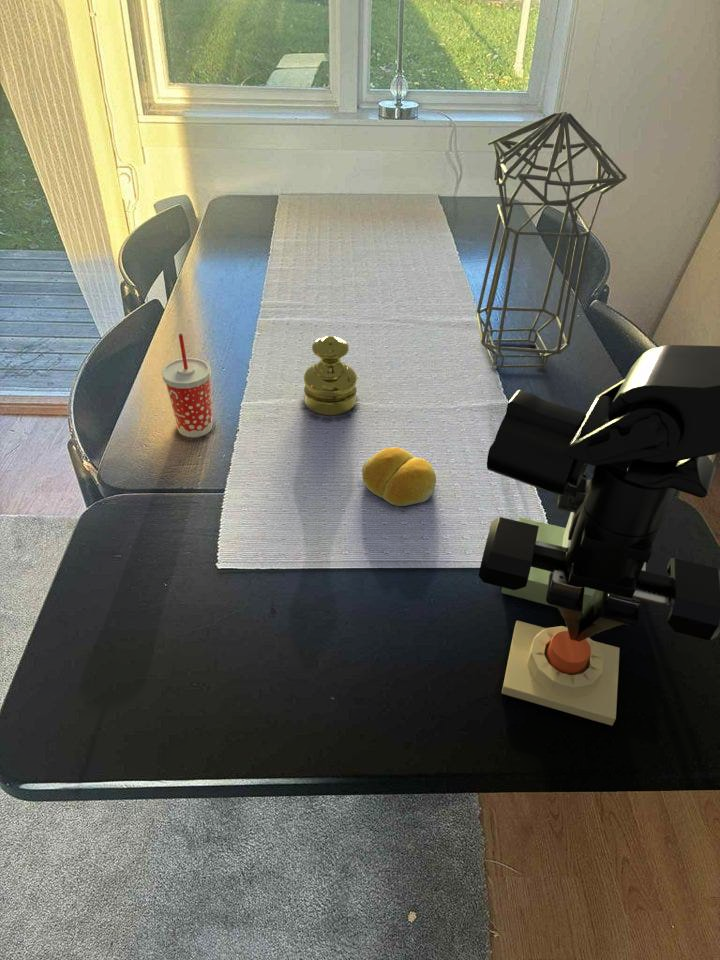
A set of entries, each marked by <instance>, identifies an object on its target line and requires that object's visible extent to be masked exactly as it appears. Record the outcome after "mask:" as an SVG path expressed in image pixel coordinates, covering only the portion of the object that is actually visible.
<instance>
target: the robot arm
mask: <svg viewBox="0 0 720 960" xmlns="http://www.w3.org/2000/svg"><path fill="white" fill-rule="evenodd" d="M719 453H720V345H689V344H688V345H687V344H682V345H681V344H667V345H661V346H657V347H654V348H650V349H649V350H646V351H645V352H643V353H642V354H641V355H640V357H638V358H637V359H636V361H635V362H634V363H633V365H632V366H631V367H630V369H629V370H628V372H627V375H626V376H625V378H624V379H622V380H620V381H619V382H618V383H616V384H614V385H612V386H610V387H609V388H607V389H606V390H604V391H602V392H601V393H599V394H598V395H596V396H595V399H594V400H593V402H592V404H591V405H590V407H589V409H588V410H587V412H585V411H581V410H576V409H574V408H571V407H568V406H565V405H561V404H559V403H555V402H553V401H552V402H551V401H549V400H546V399H543V398H541V397H539V396H537V395H536V394H534V393H531V392H527V391H524V390H522V389H518V390H516V391H515V393H514V394H513V395H512V396H511V398H510V399H509V401H508V402H507V405H506V409H505V414H504V416H503V418H502V420H501V423H500V424H499V427H498V430H497V432H496V435H495V437H494V440H493V442H492V443H491V444H490V446H489V449H488V453H487V459H486V469H487V471H490V472H492V473H496V474H498V475H501V476H504V477H506V478H509V479H512V480H514V481H517V482H519V483H523V484H525V485H529V486H531V487H534V488H537V489H538V490H542V491H544V492H547V493H551V494H553V495H556V496H558V497H557V505H556V508H557V510H561V511H565V512H570V513H571V512H574V513H575V514H574V517H573V520H572V523H571V526H570V530H569V536H568V540H571V542H570V545H569V548H566V547H562V546H558V545H554V544H550V543H545V542H541V541H536V539H537V533H538V528H539V526H537V525H532V524H528V523H524V522H520V521H518V520H514V519H510V518H507V517H502V516H498V517H497V518H495V519H493V520H492V521H491V523H490V526H489V530H488V534H487V538H486V542H485V545H484V550H483V552H482V553H483V554H482V557H481V562H480V567H479V571H478V578H480V580H481V581H482V582H483V583H484V584H489V585H492V586H495V587H500V588H507V589H511V590H518V589H520V588H523V587H526V585H527V581H528V578H529V573H530V569H531V567H534V568H538V569H542V570H546V571H550V574H549V581H548V587H547V594H546V601H547V603H548V604H550V605H552V606H551V607H554V606H555V607H554V608H557V609H558V611H559V613H560V615H561V616H562V618H563V620H564V622H565V625H566V627H567V629H568V633H569V636H570V639H571V640H575V641H578V642H580V641H582V640H584V639H586V638H588V637H589V638H591V637H592V636H595V635H597V634H599V633H602V632H604V631H607V630H611V629H614V628H617V627H620V626H623V625H624V626H629V627H634V626H636V625H637V624H638V623H639V621H640V605H641V602H649V603H652V604H656V605H660V606H664V607H668V606H669V605H670V611H669V613H668V615H667V624H668V625H669V627H670V628H671V629H672V630H673V632H674V633H678V634H682V635H686V636H689V637H695V638H698V639H701V640H706V641H712V640H714V639H716V638H717V637H718V636H719V634H720V569H719V567H714V566H711V565H706V564H702V563H697V562H693V561H689V560H685V559H681V558H676V557H670V559H669V560H668V563H667V565H666V572H667V574H668V575H669V576H667V575H663V574H660V573H655V572H651V571H648V570H647V563H649V560H650V557H651V556H652V554H653V553H652V549H653V548H652V547H653V544H654V542H655V540H656V538H657V535H658V534H659V531H660V529H661V526H662V524H663V522H664V519H665V517H666V515H667V513H668V510H669V507H670V506H671V503H672V502H673V498H674V496H675V493H676V492H677V491H679V492H682V493H685V494H689V495H691V496H695V497H697V498H701V499H702V498H706V497H707V496H708V495H709V491H710V488H711V485H712V482H713V478H714V474H715V471H716V468H717V467H716V465H715V463H714V462H713V461H712V460H711V458H710V457H709V456H714V455H717V454H719ZM588 465H591V466H594V468H593V470H592V471H593V472H592V475H591V478H590V479H587V476H588V475H587V473H586V469H587V467H588ZM585 587H587V588H591V589H595V592H594V594H593V596H592V598H591V600H590V602H589V603H588V605H587V607H586V609H585V611H584V613H583V614H582V608H583V598H584V589H585ZM550 605H549V606H550Z"/></svg>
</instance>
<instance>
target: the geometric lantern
mask: <svg viewBox="0 0 720 960" xmlns="http://www.w3.org/2000/svg"><path fill="white" fill-rule="evenodd" d="M569 126H570V127H571V128H572V129H573V131H574V132H575V133H576V135H578V137H579V138H580V139H581V140H582V142H577V143H571V137H570V136H571V135H570V127H569ZM557 129H558V131H557V134H556V138H555V140H554V141H555V142H554V143H547V142H548V140H549V139H550V138H551V136H552V135H553V134H554V133H555V131H556V130H557ZM529 132H530V133H529ZM527 133H529V134H527ZM524 134H527V136H525V137H524V138H522V139H521V140H519V141H514V140H512V139H515V138H517V137H519V136H522V135H524ZM564 140H565V141H564ZM564 143H565V144H564ZM500 144H501V145H502V146H503V147H505V148H506V149H507V150H506V151H504V150H503V148H502V146H501V145H500ZM491 145H492V146H493V151H494V152H493V153H494V157H495V166H494V175H493V176H494V177H493V181H495V185H496V186H498V191H499V199H500V204H499V203H497V210H498V214H497V218H496V222H495V228H494V232H493V237H492V241H491V246H490V249H489V254H488V259H487V263H486V268H485V272H484V277H483V281H482V286H481V290H480V295H479V298H478V303H477V307H476V312H475V315H476V319H477V326H478V332H479V339H480V344H481V345H482V347H484V348H485V349H486V351H487V354H488V356H489V359H490V361H491V364H492V366H494V367H496V368H500V369H501V368H544V367H545V365H546V364H547V362H548V359H549V357H551V356H554V355H560V354H562V353H563V352H564V351H565V350H566V349H568V348H569V347H570V345H571V338H572V332H573V327H574V323H575V317H576V312H577V306H578V301H579V297H580V291H581V286H582V281H583V275H584V269H585V264H586V260H587V253H588V248H589V244H590V240H591V239H590V238H591V231H592V228H593V225H594V221H595V219H596V215H597V213H598V210H599V206H600V203H601V200H602V198H603V195H604V194H606V193H607V192H609V191H610V190H612V189H613V188H615V187H616V186H618V185H620V184H621V183H623V182H624V181H626V179H628V176H627V174H626V173H624V172H623V170H622V169H621V168H620V167H619V166H618V165H617V164H616V163H615V162H614V160H613V159H612V158H611V157H610V156H609V155H608V154H607V153H606V151H605V150H604V149H603V146H602V144H601V143H599V141H597V140H596V139H595V138H594V137H593V136H592V135H591V134H590V133H589V132H588V131H587V130H586V129H585V128H584V127H583V126H582V124H581V123H580V122H579V121H578V120H577V119H576V118H575V117H574V115H573V114H572V113H570V112H569V113H568V112H567V111H560V112H553V113H551V114H548V115H547V116H544V117H542V118H539V119H538V120H535V121H533V122H531V123H529V124H527V125H525V126H522V127H520V128H518V129H516V130H513V131H511V132H509V133H507V134H505V135H501V136H499V137H498V138H495V139H493V140H491V141H489V142H487V146H491ZM543 148H544V149H553V150H552V153H551V157H550V160H549V164H548V166H545V165H543V166H542V165H539V164H538V165H537V164H536V162H537V159H538V155H539V152H540V151H541V150H542V149H543ZM523 149H525V151H523ZM572 149H578V150H576V152H574V153H573V154H572ZM588 149H589V150H590V151H591V153H592V155H593V156H594V158H595V159H596V178H594V179H592V178H591V179H581V180H575V179H574V168H573V167H574V166H573V160H574V159H575V158H576V157H578V156H579V155H581V154H582V153H583V152H585V151H586V150H588ZM563 150H565V151H566V159H565V160H563V161H562V162H560V163H559V164H558V165H556V163H557V160H558V156H559V154H561V153H563ZM521 151H523V153H521ZM532 152H533V153H532ZM531 153H532V154H531ZM530 154H531V155H530ZM529 155H530V157H529V158H528V156H529ZM515 156H516V157H518V158H517V159H516V160H515V161H514V162H513V163H512V164H511V165H510V166H509V168H508V167H507V166H506V165H507V163H508V162H509V161H511V159H513V158H514V157H515ZM523 162H524V164H523V165H522V167H521V169H520V170H519V171H518V172H517V174H516V175H515V176H514V175H511V174H512V172H513V171H514V170H516V168H517V167H518V166H519V165H520V164H521V163H523ZM528 165H529V167H528V169H527V171H526V172H525V173H522V172H523V171H524V170H525V169H526V167H527V166H528ZM611 165H612V166H613V167H612V166H611ZM564 166H567V172H568V181H563V179H562V177H561V175H560V172H559V170H560V169H562V168H563V167H564ZM533 169H534V170H538V171H543V172H547V173H546V175H538V174H531V172H532V170H533ZM602 169H603V170H602ZM503 172H504V173H503ZM552 173H556V176H557V178H558V180H554V179H551V178H552V177H551V176H552ZM605 175H606V178H604V177H605ZM508 178H509V179H511V180H514V181H516V180H517V179H518V180H519V181H520V182H519V184H518V185H517V187H516V188H515V190H514V192H513V193H512V195H511V196H510V198H509V200H508V198H507V197H508V196H507V185H506V184H507V183H506V182H507V181H508ZM528 180H531V181H532V180H533V181H541V182H544V189H543V193H541V192H540V191H539V190H538V189H537V188H536V187H535V186H533V184H532V183H530V181H528ZM549 185H550V186H558V187H562V190H563V192H564V194H565V199H556V200H555V199H554V200H549V199H548V186H549ZM586 185H587V186H588V185H591V186H590V188H589V189H588V190H586V191H584V192H582V193H580V194H576V195H575V196H572V197H570V194H571V186H572V187H573V186H575V187H576V186H586ZM523 186H525V187H527V188H528V189H529V190H530V191H531V192H532V193H533V194H534V195H535V196H536V197H537V198H538V199H539V200H540V201H542V202H531V201H530V202H527V201H514V200H515V198H516V197H517V195H518V194H519V191H520V190H521V188H522V187H523ZM598 191H599V196H598V199H597V202H596V205H595V209H594V212H593V215H592V218H591V221H590V224H589V227H588V225H587V223H586V221H585V220H584V218H583V216H582V215H581V213H580V211H579V209H580V207H582V205H583V204H584V202H585V201H586V200H587V199H588V197H589V196H591V195H592V194H594V193H597V192H598ZM578 200H579V202H578V203H577V204H576V205H575V207H574V205H573V203H574V202H577V201H578ZM514 206H540V207H539V208H538V209H537V210H536V211H535V212H534V213H533V214H532V215H531V216H530V217H529V218H528V219H527V220H526V221H524V223H523V224H522V225H521V226H520V227H519V228H518V229H515V228H513V226H509V225H510V221H511V217H512V213H513V207H514ZM545 207H565V210H564V214H563V218H562V222H561V227H560V231H559V232H538V231H521V230H523V228H525V227H526V226H527V225H528V223H529V222H531V221H532V220H533V219H534V218H535V217H536V216H537V215H538V213H540V212H541V211H542V210H543V209H544V208H545ZM507 208H508V211H507V210H506V209H507ZM569 216H570V220H571V223H572V225H571V228H570V229H571V230H570V233H565V230H566V226H567V221H568V218H569ZM578 218H579V220H580V222H581V224H582V226H583V228H584V229H585V231H584V232H580V230H579V226H578V223H577V222H578ZM501 222H502V225H503V232H502V236H501V241H500V245H499V249H498V252H497V253H498V254H497V257H496V262H495V267H494V271H493V275H492V279H491V284H490V287H489V292H488V297H487V301H486V306H485V307H483V308H482V305H483V300H484V296H485V292H486V287H487V283H488V279H489V274H490V270H491V266H492V261H493V257H494V251H495V247H496V243H497V238H498V234H499V230H500V225H501ZM510 233H512V234H513V235H514V237H513V242H512V249H511V253H510V254H511V255H510V259H509V260H510V261H509V267H508V272H507V279H506V285H505V291H504V296H503V297H504V298H503V304H502V306H494V304H495V298H496V294H497V291H498V286H499V281H500V278H501V273H502V268H503V264H504V260H505V256H506V251H507V246H508V242H509V237H510ZM520 235H522V236H523V235H524V236H545V237H558V240H557V245H556V248H555V251H554V256H553V260H552V265H551V268H550V272H549V276H548V280H547V285H546V289H545V292H544V297H543V300H542V304H541V307H539V308H538V307H511V306H509V307H508V301H509V296H510V290H511V284H512V277H513V271H514V266H515V259H516V254H517V248H518V243H519V236H520ZM563 237H569V241H568V247H567V252H566V257H565V263H564V268H563V272H562V273H563V274H562V278H561V279H562V280H561V286H560V289H559V297H558V302H557V307H556V311H555V312H553V311H551V310H549V309H547V308H546V306H547V302H548V298H549V294H550V291H551V287H552V282H553V280H554V279H553V278H554V275H555V270H556V266H557V263H558V259H559V253H560V251H561V247H562V242H563ZM583 237H585V238H584V244H583V247H582V248H583V249H582V254H581V260H580V265H579V270H578V275H577V280H576V285H575V286H576V287H575V292H574V297H573V303H572V308H571V314H570V319H569V325H568V330H567V334H566V331H565V326H566V320H567V315H568V309H569V304H570V298H571V292H572V287H573V281H574V277H575V270H576V263H577V258H578V252H579V247H580V242H581V241H580V240H581V238H583ZM574 239H575V243H574ZM573 243H574V247H573ZM572 248H573V253H572ZM571 255H572V259H571ZM570 260H571V264H570ZM569 265H570V271H569ZM568 271H569V276H568ZM567 276H568V282H567ZM566 283H567V288H566V293H565V294H566V295H565V299H564V304H563V303H562V302H563V298H564V292H565V287H566ZM562 304H563V310H562V317H560V313H561V308H562ZM492 311H501V316H500V323H499V328H495V329H493V327H492V323H491V316H492ZM507 311H510V312H536V313H537V315H536V318H535V320H534V322H533V324H532V327H531V328H530V327H529V328H527V327H526V328H504V327H505V326H504V325H505V319H506V313H507ZM542 312H543V313H545V314H547V315H548V316H551V318H550V319H549V320H548V321H547V322H545V323H543V325H542V326H541V327H540V328H538V329H537V330H536V329H535V328H536V326H537V324H538V321H539V318H540V316H541V315H542ZM482 313H485V316H486V318H485V322H484V319H482V317H481V314H482ZM554 320H556V322H557V325H558V328H559V334H558V340H557V346H556V347H555V348H554V349H548V348H547V346H546V344H545V343H544V340H543V338H542V335H540V332H541V331H542V330H544V329H545V328H546V327H547V326H548V325H549V324H551V323H552V322H553V321H554ZM495 332H497V333H498V335H497V339H493V334H494V333H495ZM503 332H528V336H527V338H525V339H524V338H519V339H518V338H515V339H513V338H511V339H506V338H505V339H502V338H503V337H502V336H503ZM532 332H533V333H534V339H533V340H532V339H531V336H532ZM537 339H538V340H539V342H540V343H541V345H542V347H543V349H541V348H540V347H539V345H538V342H537ZM563 341H564V343H563V344H562V342H563ZM513 342H514V343H516V342H517V343H518V342H519V343H520V342H522V343H523V342H524V343H525V342H528V343H531V344H534V346H535V348H527V347H513V346H511V347H509V346H502V345H501V344H502V343H513ZM495 343H496V345H495ZM503 351H504V352H521V353H534V354H503V353H502V352H503ZM535 353H536V354H535ZM537 353H538V354H537ZM492 354H493V355H494V357H493V355H492ZM498 358H501V361H500V364H499V363H498ZM505 358H541V364H504V360H505Z"/></svg>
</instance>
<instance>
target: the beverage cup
mask: <svg viewBox="0 0 720 960" xmlns="http://www.w3.org/2000/svg"><path fill="white" fill-rule="evenodd" d="M178 339H179V346H180V352H181V358H176V359H173V360H171V361H169V362H167V363H166V364H165V365H164V366H163V367H162V369H161V376H162V380H163V382H164V383H165V384H166V389H167V393H168V396H169V401H170V404H171V409H172V411H173V417H174V418H175V424H176V428H177V431H178V432H179V434H180V435H182V436H184V437H187V438H199V437H203V436H205V435H207V434H209V433H210V431H212V429H213V425H214V424H213V411H212V397H211V396H212V395H211V377H212V376H211V375H212V367H211V365H210V363H209V362H208V361H206V360H204V359H202V358H198V357H187V354H186V346H185V341H184V334H183V333H178Z"/></svg>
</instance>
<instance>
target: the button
mask: <svg viewBox="0 0 720 960" xmlns="http://www.w3.org/2000/svg"><path fill="white" fill-rule="evenodd" d="M590 654H591V648H590V645H589V643H588V641H587V640H586V639H584V640H582V641H580V642H578V641H575V640H571V639H570V636H569V633H568V631H560V632H558V633H556V634H555V635H554V636H553V637H552V639H551V642H550V645H549V647H548V651H547V656H548V660H549V662H550V663H551V665H552V666H553V667H554V668H556V669H557V670H559V671H561V672H563V673H567V674H576V673H579V672H581V671H582V670H583V669H584V668H585V667H586V664H587V662H588V659H589V657H590Z"/></svg>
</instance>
